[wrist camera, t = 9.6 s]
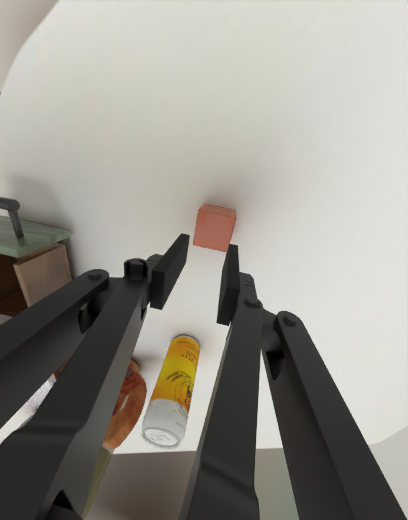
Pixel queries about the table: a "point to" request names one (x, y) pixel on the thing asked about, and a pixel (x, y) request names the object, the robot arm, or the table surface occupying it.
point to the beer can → (172, 395)
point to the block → (214, 227)
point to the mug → (126, 407)
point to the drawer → (29, 260)
